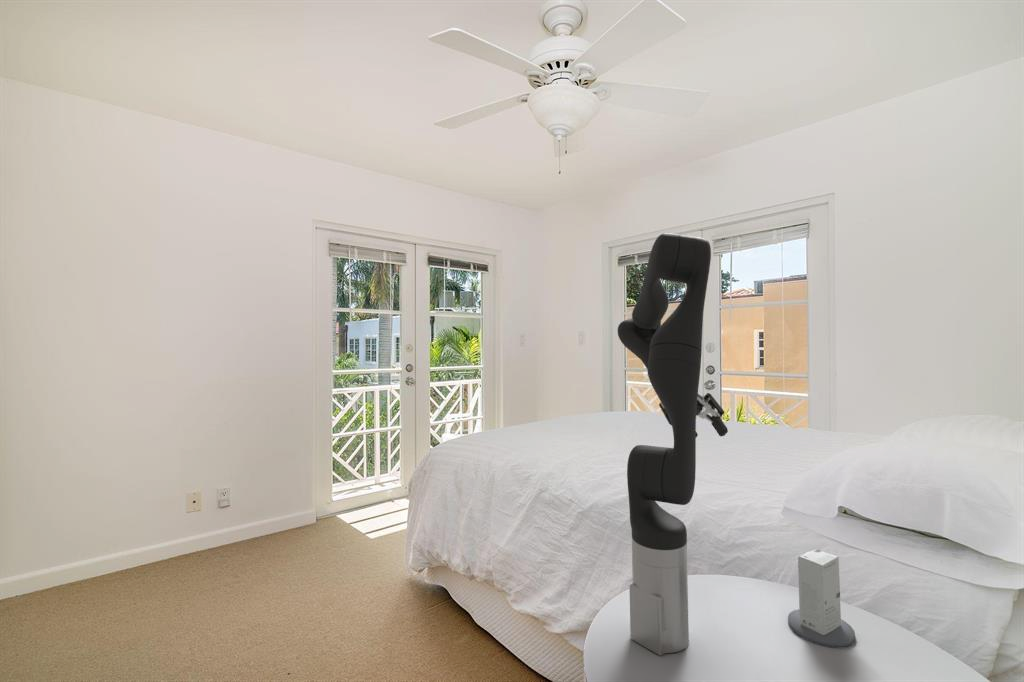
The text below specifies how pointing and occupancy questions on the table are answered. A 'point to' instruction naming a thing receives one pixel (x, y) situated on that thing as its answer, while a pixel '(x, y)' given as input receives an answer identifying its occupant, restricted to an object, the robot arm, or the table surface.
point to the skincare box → (819, 591)
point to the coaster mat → (835, 638)
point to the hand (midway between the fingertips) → (709, 436)
